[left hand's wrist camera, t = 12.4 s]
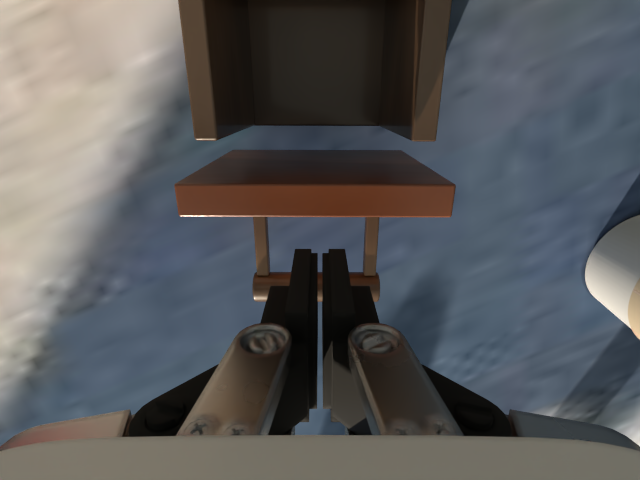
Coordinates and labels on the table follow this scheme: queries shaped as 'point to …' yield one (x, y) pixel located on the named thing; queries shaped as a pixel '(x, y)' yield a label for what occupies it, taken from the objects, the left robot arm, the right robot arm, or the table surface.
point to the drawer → (315, 113)
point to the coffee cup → (618, 272)
